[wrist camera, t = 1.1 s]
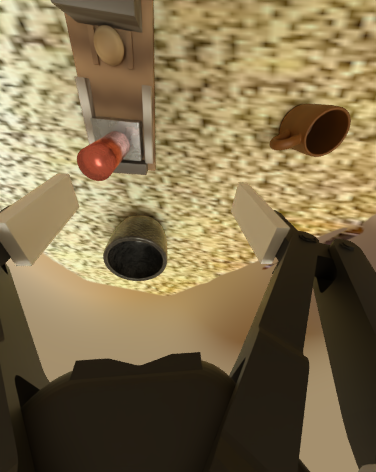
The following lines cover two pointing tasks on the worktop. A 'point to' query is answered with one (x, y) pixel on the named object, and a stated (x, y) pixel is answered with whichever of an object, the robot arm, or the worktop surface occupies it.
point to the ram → (111, 146)
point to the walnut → (108, 45)
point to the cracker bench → (116, 68)
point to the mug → (313, 129)
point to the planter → (137, 249)
